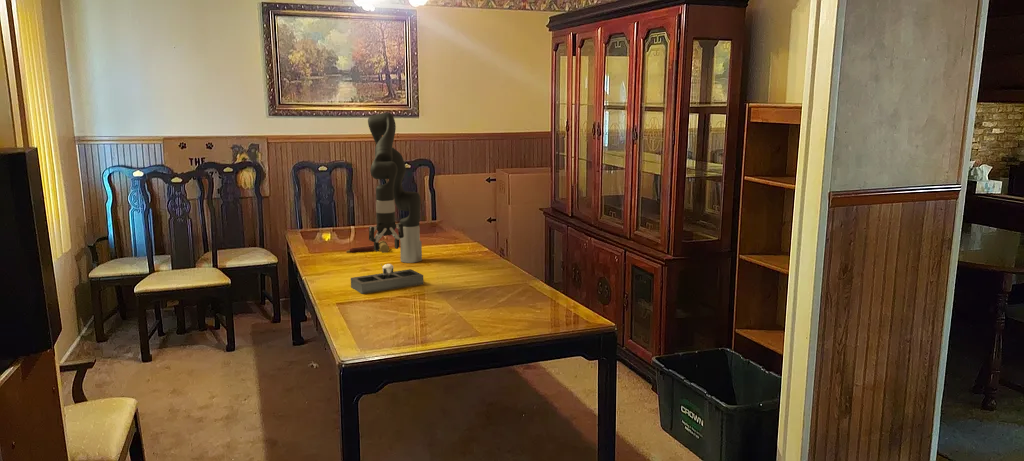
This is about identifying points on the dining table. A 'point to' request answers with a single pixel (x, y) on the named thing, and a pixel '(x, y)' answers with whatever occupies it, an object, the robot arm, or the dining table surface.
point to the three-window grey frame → (386, 281)
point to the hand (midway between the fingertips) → (386, 249)
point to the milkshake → (387, 271)
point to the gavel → (371, 248)
